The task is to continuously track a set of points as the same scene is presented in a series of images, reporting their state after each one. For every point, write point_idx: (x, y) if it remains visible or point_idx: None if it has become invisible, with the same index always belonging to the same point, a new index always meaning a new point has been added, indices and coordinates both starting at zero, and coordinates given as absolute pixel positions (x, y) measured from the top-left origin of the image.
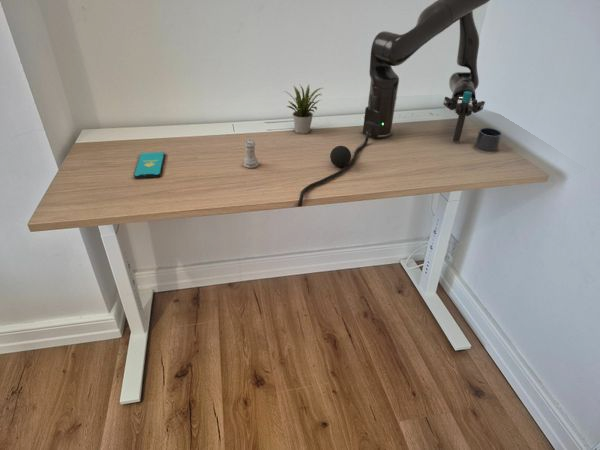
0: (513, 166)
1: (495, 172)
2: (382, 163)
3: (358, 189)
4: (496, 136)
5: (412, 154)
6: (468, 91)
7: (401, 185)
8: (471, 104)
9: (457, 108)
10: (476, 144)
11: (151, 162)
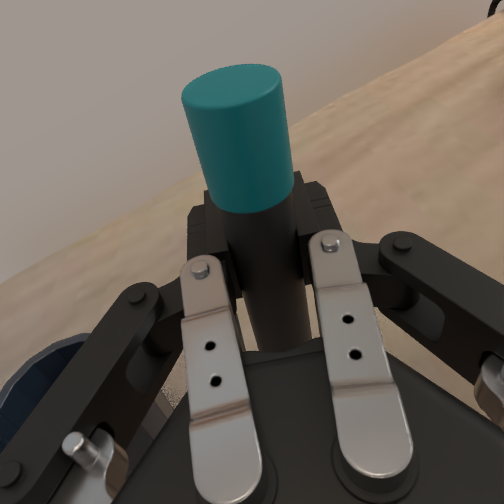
0: (31, 323)
1: (117, 250)
2: (488, 130)
3: (444, 53)
4: (45, 349)
5: (442, 216)
6: (227, 102)
7: (368, 95)
8: (191, 291)
9: (316, 191)
10: (170, 405)
11: None
